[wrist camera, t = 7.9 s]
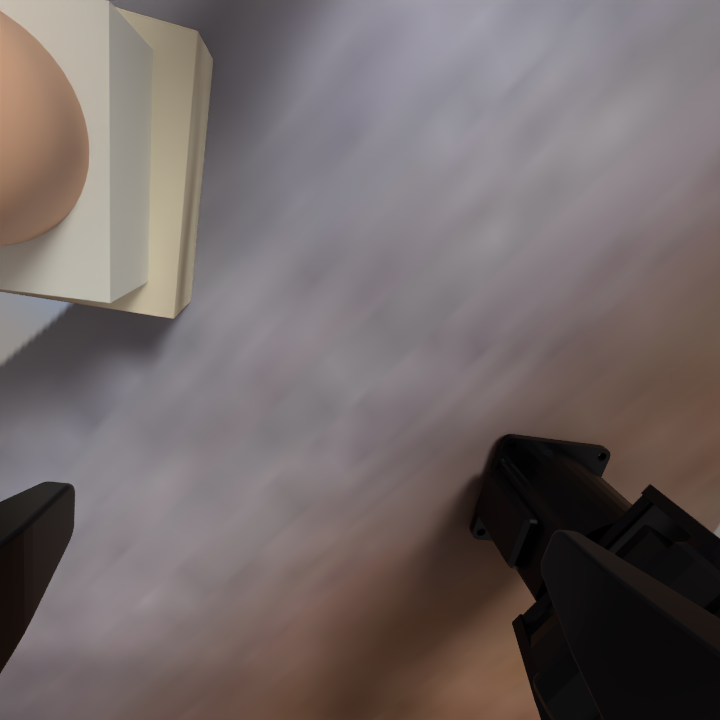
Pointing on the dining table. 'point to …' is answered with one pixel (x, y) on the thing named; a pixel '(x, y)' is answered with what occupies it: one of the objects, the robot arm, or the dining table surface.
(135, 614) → the dining table surface
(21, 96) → the tan rounded block
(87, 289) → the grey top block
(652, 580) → the robot arm
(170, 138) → the birch base block
